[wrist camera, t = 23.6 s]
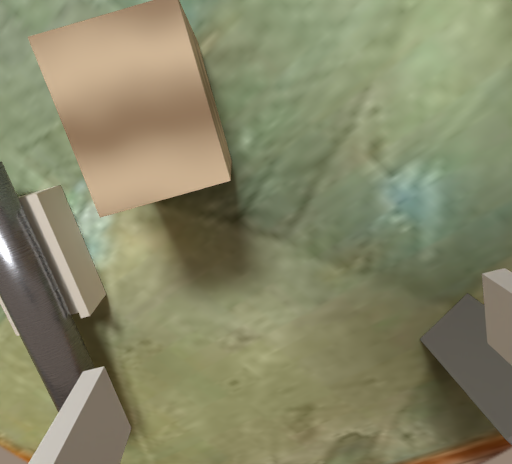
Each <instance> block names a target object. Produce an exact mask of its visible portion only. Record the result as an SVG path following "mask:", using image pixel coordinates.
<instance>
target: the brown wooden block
mask: <svg viewBox="0 0 512 464" xmlns="http://www.w3.org/2000/svg"><path fill="white" fill-rule="evenodd" d="M28 39H29V41H30V44H31V46H32V49H33V51H34V54H35V56H36V59H37V61H38V64H39V66H40V69H41V71H42V74H43V76H44V79H45V81H46V84H47V86H48V89H49V91H50V94H51V96H52V99H53V101H54V104H55V106H56V109H57V111H58V114H59V116H60V119H61V121H62V124H63V126H64V129H65V131H66V134H67V136H68V139H69V141H70V144H71V146H72V149H73V151H74V154H75V156H76V159H77V161H78V164H79V166H80V169H81V171H82V174H83V176H84V179H85V181H86V184H87V186H88V189H89V191H90V194H91V196H92V199H93V201H94V204H95V206H96V209H97V211H98V214H99V216H100V217H104V216H107V215H111V214H114V213H118V212H121V211H125V210H128V209H132V208H136V207H139V206H143V205H146V204H150V203H153V202H157V201H160V200H164V199H168V198H171V197H175V196H178V195H182V194H185V193H189V192H192V191H196V190H200V189H203V188H207V187H210V186H214V185H217V184H221V183H224V182H228V181H231V164H232V160H231V156H230V153H229V149H228V146H227V142H226V139H225V135H224V132H223V128H222V125H221V121H220V118H219V114H218V111H217V107H216V104H215V100H214V97H213V93H212V90H211V86H210V83H209V79H208V76H207V72H206V69H205V66H204V62H203V59H202V55H201V52H200V48H199V45H198V41H197V39H196V37H195V35H194V32H193V30H192V28H191V26H190V24H189V21H188V19H187V17H186V15H185V13H184V10H183V8H182V6H181V4H180V1H179V0H153V1H149V2H146V3H142V4H139V5H135V6H132V7H129V8H125V9H122V10H118V11H115V12H112V13H108V14H105V15H101V16H98V17H94V18H91V19H88V20H84V21H81V22H77V23H74V24H71V25H67V26H64V27H60V28H57V29H53V30H50V31H47V32H43V33H40V34H36V35H33V36H29V37H28Z"/></svg>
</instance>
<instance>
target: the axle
mask: <svg viewBox="0 0 512 464" xmlns="http://www.w3.org/2000/svg"><path fill="white" fill-rule="evenodd" d="M0 297H1V299H2V301H3V303H4V305H5V307H6V309H7V311H8V313H9V315H10V317H11V319H12V321H13V323H14V325H15V327H16V329H17V331H18V333H19V335H20V337H21V339H22V341H23V343H24V345H25V347H26V349H27V351H28V353H29V355H30V357H31V359H32V361H33V363H34V365H35V367H36V369H37V371H38V373H39V375H40V377H41V379H42V381H43V383H44V385H45V387H46V389H47V391H48V393H49V395H50V396H51V398H52V400H53V402H54V404H55V406H56V408H57V410H58V412H59V411H60V409H61V408H62V406H63V404H64V403H65V401H66V399H67V398H68V396H69V394H70V392H71V391H72V389H73V387H74V386H75V384H76V382H77V381H78V379H79V377H80V376H81V374H82V372H83V371H87V370H91V369H95V367H94V364H93V362H92V360H91V358H90V356H89V353H88V351H87V349H86V347H85V345H84V342H83V340H82V338H81V336H80V333H79V331H78V329H77V327H76V325H75V322H74V320H73V318H72V316H71V314H70V311H69V309H68V307H67V305H66V303H65V300H64V298H63V296H62V294H61V291H60V289H59V287H58V285H57V283H56V280H55V278H54V276H53V274H52V272H51V269H50V267H49V265H48V263H47V260H46V258H45V256H44V254H43V252H42V249H41V247H40V245H39V243H38V241H37V238H36V236H35V234H34V232H33V229H32V227H31V225H30V223H29V221H28V218H27V216H26V214H25V212H24V210H23V207H22V205H21V203H20V201H19V198H18V196H17V194H16V192H15V190H14V187H13V185H12V183H11V181H10V179H9V176H8V174H7V172H6V170H5V167H4V165H3V163H2V162H0Z"/></svg>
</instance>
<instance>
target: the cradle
mask: <svg viewBox="0 0 512 464" xmlns="http://www.w3.org/2000/svg"><path fill="white" fill-rule="evenodd" d="M18 198H19V201H20V203H21V205H22V207H23V210H24V212H25V214H26V216H27V218H28V221H29V223H30V225H31V227H32V229H33V232H34V234H35V236H36V238H37V241H38V243H39V245H40V247H41V249H42V252H43V254H44V256H45V258H46V260H47V263H48V265H49V267H50V269H51V272H52V274H53V276H54V278H55V280H56V283H57V285H58V287H59V289H60V291H61V294H62V296H63V298H64V300H65V303H66V305H67V307H68V309H69V311H70V314H71V315H72V314H75V313H79V314H80V317H81V318H84V317H88V316H90V315H91V314H92V313H93V311H94V310H95V309H96V307H97V306H98V305H99V303H100V302H101V300H102V299H103V298H104V296H105V295H106V292H105V290H104V287H103V285H102V283H101V280H100V278H99V275H98V273H97V271H96V268H95V266H94V264H93V261H92V259H91V256H90V254H89V252H88V249H87V247H86V244H85V242H84V240H83V237H82V235H81V233H80V230H79V228H78V225H77V223H76V221H75V218H74V216H73V214H72V211H71V209H70V206H69V204H68V202H67V199H66V197H65V194H64V192H63V190H62V187H61V185H58V186H54V187H51V188H47V189H44V190H40V191H37V192H33V193H30V194H26V195H23V196H19V197H18ZM0 304H1V306H2V308H3V310H4V312H5V314H6V316H7V318H8V320H9V322H10V323H11V325H12V327H13V329H14V331H15V333H16V335H17V336H19V333H18V331H17V329H16V327H15V325H14V323H13V321H12V319H11V317H10V315H9V313H8V311H7V309H6V307H5V305H4V303H3V301H2V299H1V297H0Z"/></svg>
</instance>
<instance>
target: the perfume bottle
mask: <svg viewBox="0 0 512 464" xmlns="http://www.w3.org/2000/svg"><path fill="white" fill-rule="evenodd" d="M420 340H421V341H422V342H423V343H424V345H425V346H426V347H427V348H428V349H429V350H430V352H431V353H432V354H433V355H434V356H435V357H436V359H437V360H438V361H439V362H440V363H441V364H442V366H443V367H444V368H445V369H446V370H447V371H448V373H449V374H450V375H451V376H452V377H453V378H454V380H455V381H456V382H457V383H458V384H459V385H460V387H461V388H462V389H463V390H464V391H465V392H466V394H467V395H468V396H469V397H470V398H471V399H472V401H473V402H474V403H475V404H476V405H477V406H478V408H479V409H480V410H481V411H482V412H483V414H484V415H485V416H486V417H487V418H488V419H489V421H490V422H491V423H492V424H493V425H494V426H495V428H496V429H497V430H498V431H499V432H500V433H501V435H502V436H503V437H504V438H505V439H506V440H507V441H508V442H509V443H511V444H512V365H511V364H510V363H508V362H507V361H506V360H505V359H504V358H503V357H502V356H501V355H500V354H499V353H498V352H497V351H495V350H494V349H493V348H492V347H491V346H490V345H489V344H488V343H487V332H486V319H485V307H484V305H483V304H482V303H480V302H479V301H478V300H476V299H475V298H473V297H472V296H471V295H469V294H468V293H467V294H466V295H465V296H464V297H463V298H462V299H461V300H460V301H459V302H458V303H457V304H456V305H455V306H454V307H453V308H452V309H451V310H450V311H448V312H447V313H446V314H445V315H444V316H443V317H442V318H441V319H440V320H439V321H438V322H437V323H436V324H435V325H434V326H433V327H432V328H431V329H430V330H429V331H428V332H427V333H426V334H425V335H424V336H422V337H421V338H420Z"/></svg>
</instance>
